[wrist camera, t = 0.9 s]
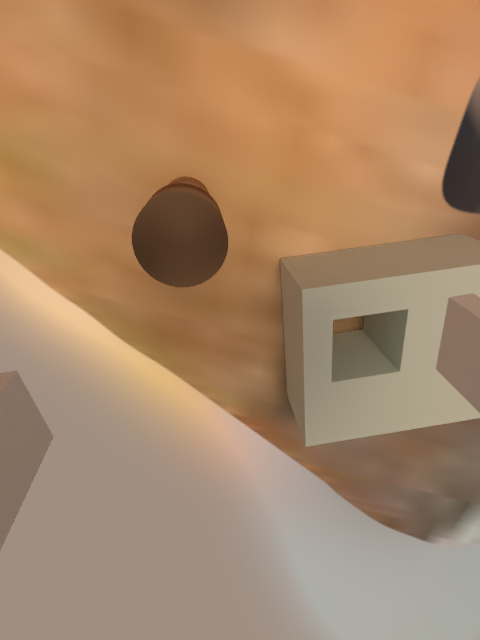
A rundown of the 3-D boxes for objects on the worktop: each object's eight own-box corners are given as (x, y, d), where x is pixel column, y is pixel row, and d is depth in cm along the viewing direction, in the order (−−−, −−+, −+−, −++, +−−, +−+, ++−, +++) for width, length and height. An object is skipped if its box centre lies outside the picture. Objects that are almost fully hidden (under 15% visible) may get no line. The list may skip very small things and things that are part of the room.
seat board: (280, 258, 30) (302, 289, 24) (459, 233, 30) (526, 257, 24) (287, 395, 37) (305, 446, 31) (432, 372, 38) (479, 417, 31)
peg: (151, 174, 26) (120, 199, 15) (211, 167, 26) (221, 186, 15) (164, 234, 28) (144, 292, 17) (219, 226, 28) (233, 280, 17)
